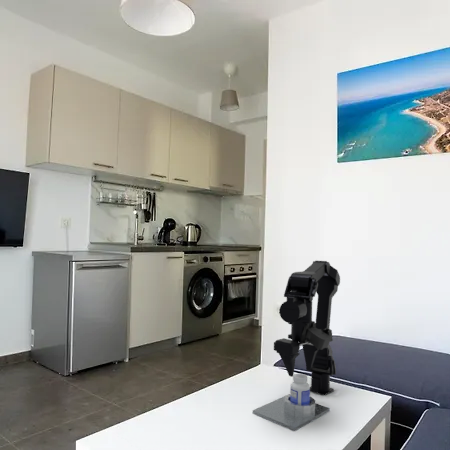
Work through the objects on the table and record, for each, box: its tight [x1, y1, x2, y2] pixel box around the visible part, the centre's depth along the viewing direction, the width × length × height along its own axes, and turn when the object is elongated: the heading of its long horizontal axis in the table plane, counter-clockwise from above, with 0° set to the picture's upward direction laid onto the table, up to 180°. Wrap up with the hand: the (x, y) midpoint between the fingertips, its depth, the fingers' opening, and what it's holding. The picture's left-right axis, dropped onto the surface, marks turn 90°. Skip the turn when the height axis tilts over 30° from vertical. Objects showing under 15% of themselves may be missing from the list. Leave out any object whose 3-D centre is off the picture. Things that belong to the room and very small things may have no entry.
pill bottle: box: [290, 373, 311, 405], centre depth 112 cm, size 5×5×10 cm
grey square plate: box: [252, 394, 331, 432], centre depth 112 cm, size 18×14×4 cm
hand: (300, 372), depth 112 cm, fingers open, 9 cm apart
